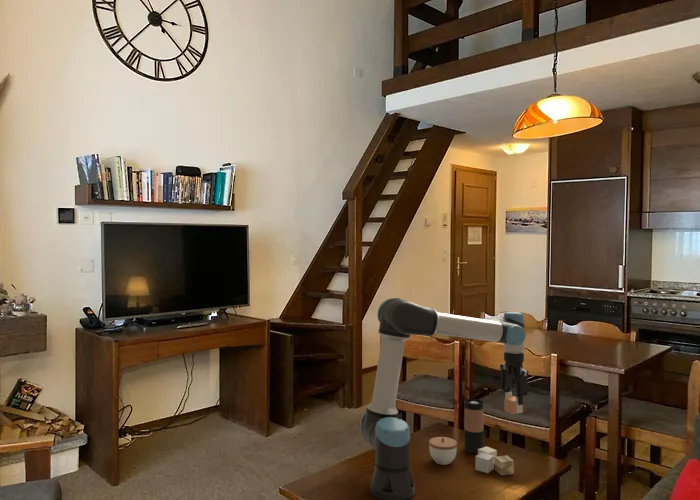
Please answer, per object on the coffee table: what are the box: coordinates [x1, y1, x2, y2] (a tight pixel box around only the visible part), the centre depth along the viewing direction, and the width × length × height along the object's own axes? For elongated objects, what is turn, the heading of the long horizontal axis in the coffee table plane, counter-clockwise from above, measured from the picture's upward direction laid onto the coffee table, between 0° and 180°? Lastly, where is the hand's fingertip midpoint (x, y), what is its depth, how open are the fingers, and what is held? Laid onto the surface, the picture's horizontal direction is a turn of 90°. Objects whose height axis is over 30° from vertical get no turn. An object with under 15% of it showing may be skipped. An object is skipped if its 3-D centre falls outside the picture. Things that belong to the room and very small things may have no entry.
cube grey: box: [474, 453, 495, 474], centre depth 205 cm, size 5×5×5 cm
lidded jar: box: [428, 436, 458, 466], centre depth 212 cm, size 11×11×9 cm
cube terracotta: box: [503, 395, 524, 415], centre depth 215 cm, size 5×5×5 cm
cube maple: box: [494, 455, 515, 476], centre depth 203 cm, size 5×5×5 cm
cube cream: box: [477, 446, 498, 465], centre depth 211 cm, size 5×5×5 cm
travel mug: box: [463, 398, 485, 454], centre depth 223 cm, size 8×8×20 cm
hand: (513, 410), depth 215 cm, fingers closed on cube terracotta, 5 cm apart
